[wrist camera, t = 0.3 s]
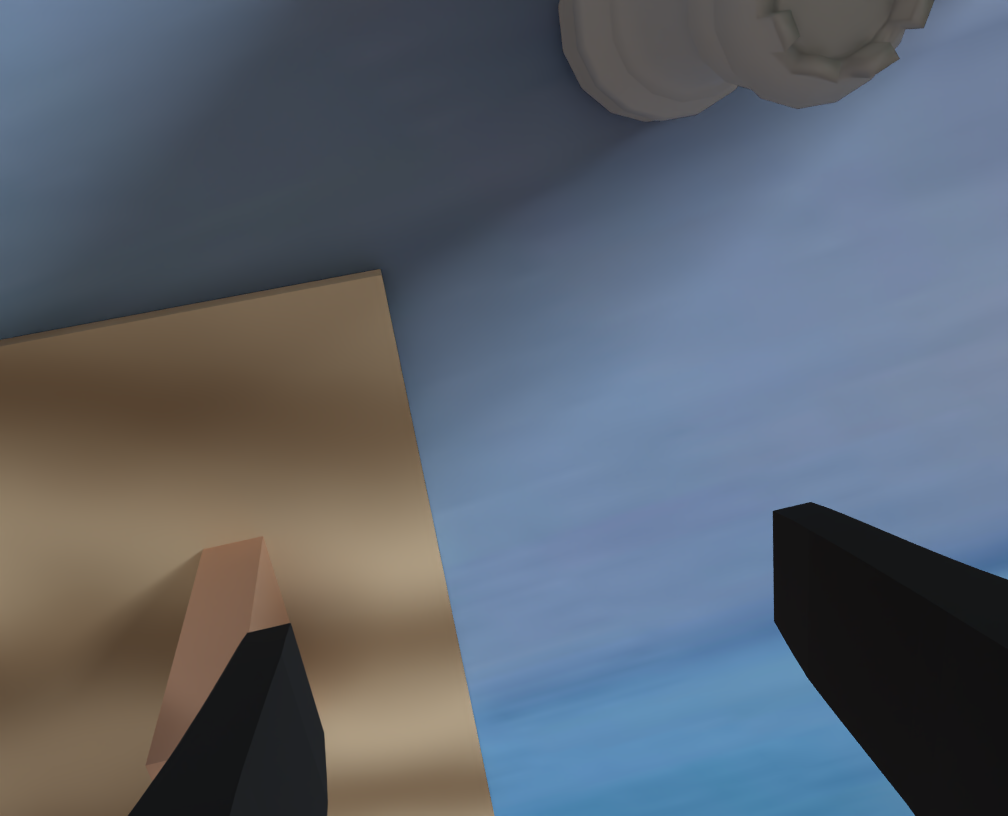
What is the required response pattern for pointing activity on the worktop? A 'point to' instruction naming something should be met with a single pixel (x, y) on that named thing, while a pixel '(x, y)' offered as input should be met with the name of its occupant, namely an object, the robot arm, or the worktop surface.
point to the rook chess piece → (729, 50)
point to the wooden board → (223, 543)
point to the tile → (215, 633)
